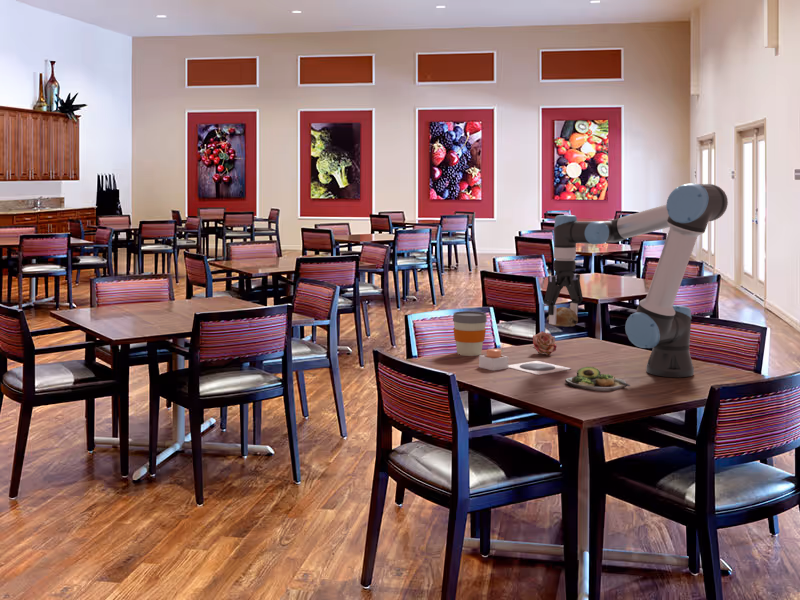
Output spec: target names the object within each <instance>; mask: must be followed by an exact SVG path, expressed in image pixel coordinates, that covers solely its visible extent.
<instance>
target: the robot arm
mask: <svg viewBox="0 0 800 600" xmlns="http://www.w3.org/2000/svg"><path fill="white" fill-rule="evenodd" d="M727 196H728V195H727V193H726V192H725V191H724V190H723V189H722V188H721V187H720V186H718V185H716V184H712V183H705V184H704V183H695V182H690V183H685V184H681V185H679V186H677V187H676V188H674V189H673V190H672V191H671V192H670V194H669V195H668V197H667V200H666V203H665V204H662V205H659V206H656V207H653V208H649V209H646V210H642V211H638V212H636V213H632V214H629V215H625V216H622V217H619V218H615V219H611V220H600V221H597V220H595V221H579V220H578V219H577V216H576V215H573V214H571V215H570V214H567V215H566V214H564V215H563V214H559V215H556V216H555V217H554V224H553V225H554V226H553V233H554V234H553V235H554V236H553V237H554V239H553V241H554V244H553V259H555V260H553V271H554V272H555V273H554V275H548V276H547V285H546V289H545V290H546V291H545V296H544V299H543V304H545V306H547V308H548V310H547V311H548V316H549V319H548V320H549V323H548V324H549V325H550V324H553V325H556V309H557V308H558V307H557V305H556V303H557V301H558V298H559V297H560V293H561V291H562V290H563V288H564V287H565V288H566V289H567V292H568V294H569V295H568V296H569V297H570V299H571V302H570V303H569V305H570V306H569V308H570V309H571V310H573V311H574V312H575V313H576V315H577V316H578V312H579V304H582V302H583V300H584V298H583V291H582V286H581V275H580V274H579V273H574V272H575V271H576V260H575V259H576V257H577V244H587V245H589V244H590V245H602V244H607V243H614V244H615V243H619V242H622V241H624V240H626V239H628V238H634V237H636V236H640V235H641V236H642V235H644V234H648V233H652V232H656V231H659V230H660V231H661V230H663V229H667V228H669V230H668V234H667V235H666V239H665V242H664V244H663V247H662V250H661V254H660V256H659V260H658V263H657V266H656V268H655V271H654V274H653V276H652V280H651V282H650V286H649V288H648V290H647V294H646V297H645V298H643V299H641V300H639V302H638V305H637V308H636V310H635V312H634V313H632V314H630V315H629V316H628V317H627V318H626V319H627V320H626V321H625V327H624V329H625V334H626V335H627V338H628V340H629V342H630V343H631V344H633V345H634V346H635V347H637V348H641V349H652V350H651V353H650V355H649V358H648V361H647V363H646V369H645V370H646V373H648V374H650V375H653V376H657V377H658V376H659V377H665V378H688V377H692V376H694V371H695V369H694V364H693V360H692V358H691V353H690V343H691V327H692V326H691V324H692V309H691V308H690V307H688V306H684V305H675V301H676V298H677V295H678V292H679V289H680V286H681V284H682V281H683V278H684V276H685V273H686V270H687V267H688V264H689V261H690V259H691V256H692V253H693V250H694V248H695V245H696V242H697V239H698V237H699V236H701V235H703V234H704V233H705V232H706V229H707V228H708V227H707V226H708V223H709V222H714V221H716V220H718V219H720V218H721V217H723V215H724V214H725V213H726V211H727V208H728V205H729V202H728V197H727Z"/></svg>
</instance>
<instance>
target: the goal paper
mask: <svg viewBox="0 0 800 600" xmlns="http://www.w3.org/2000/svg"><path fill="white" fill-rule="evenodd" d="M507 369H511V370H514V371H515V370H516V371H519V372H523V373H528V374H531V375H532V374H533V375H536V376H539V375H546V374H552V373H556V372H557V373H558V372H564V371H569V370H572V368H571V367H566V366H562V365H558V364H553V363H550V362H549V363H548V362H544V361H540V360H533V361H527V362H520V363H514V364H508V368H507Z"/></svg>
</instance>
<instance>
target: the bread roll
mask: <svg viewBox="0 0 800 600" xmlns="http://www.w3.org/2000/svg"><path fill="white" fill-rule="evenodd" d="M578 321H579V318H578V314H577V315H576V313H575V312H574V311H573V310H571V309H570V307H569V308H568V307H564V306H562V307H561V306H560V307H557V308H556V325H553V324H549V315H548V316H547V317H546V322H547V323H548V324H549V326H553V327H564V328H565V327H569V328H570V327H575V326H576V325H577V324H578Z"/></svg>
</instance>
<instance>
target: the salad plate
mask: <svg viewBox="0 0 800 600" xmlns="http://www.w3.org/2000/svg"><path fill="white" fill-rule="evenodd" d="M564 382H565V384H566V385H567V386H569V387H573V388H576V389H577V388H578V389H583V390H591V391H597V392H611V391H613V392H614V391H617V390H621V389H622V388H625V387H631V385H630V384H629V383H626V380H625V379H620V378H616V377H614V375H611V374H609V373H607V374H605V373H601V372H600V370H599V369H598V368H596V367H594V366H585V367H581V368H579V369H577V372H576V376H572V377H567V378H565V380H564Z"/></svg>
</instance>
